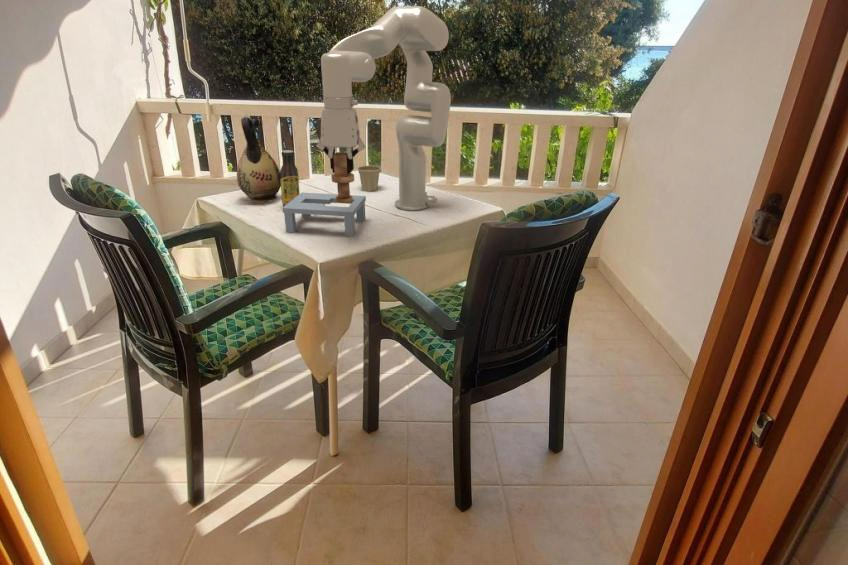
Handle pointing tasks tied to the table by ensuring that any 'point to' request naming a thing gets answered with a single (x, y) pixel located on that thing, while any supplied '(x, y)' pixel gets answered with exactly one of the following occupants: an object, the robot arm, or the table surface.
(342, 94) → the robot arm
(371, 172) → the flower pot
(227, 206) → the table surface
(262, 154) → the ceramic jug
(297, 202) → the stand
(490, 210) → the table surface
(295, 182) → the sauce bottle
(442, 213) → the table surface
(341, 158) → the walnut peg
